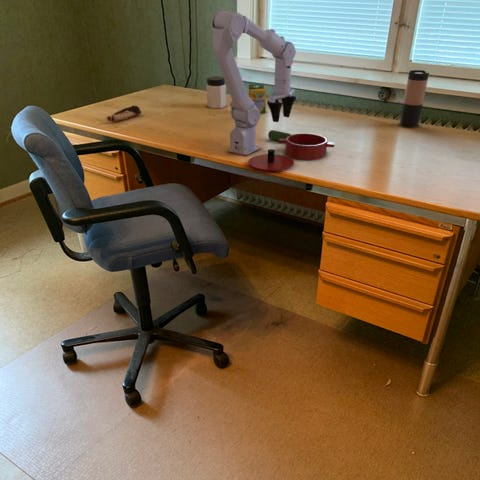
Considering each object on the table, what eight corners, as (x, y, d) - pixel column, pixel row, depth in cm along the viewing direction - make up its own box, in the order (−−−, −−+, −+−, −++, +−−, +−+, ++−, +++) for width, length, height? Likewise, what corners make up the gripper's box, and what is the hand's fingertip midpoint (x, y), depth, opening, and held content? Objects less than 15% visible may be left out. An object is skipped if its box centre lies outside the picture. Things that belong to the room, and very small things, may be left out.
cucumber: (294, 142, 186) (294, 133, 184) (289, 144, 184) (290, 135, 181) (271, 137, 191) (271, 128, 188) (266, 139, 188) (266, 130, 186)
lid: (288, 174, 159) (289, 159, 156) (243, 170, 162) (243, 155, 159) (297, 159, 171) (298, 145, 168) (254, 155, 174) (254, 141, 171)
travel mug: (397, 126, 202) (406, 72, 189) (401, 121, 207) (411, 69, 195) (416, 128, 199) (427, 74, 187) (420, 123, 204) (431, 71, 192)
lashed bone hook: (131, 113, 221) (99, 121, 210) (130, 102, 219) (97, 109, 207) (145, 116, 216) (113, 124, 205) (144, 104, 214) (111, 112, 202)
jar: (204, 105, 231) (203, 77, 224) (220, 103, 234) (219, 75, 227) (213, 109, 225) (211, 80, 217) (228, 107, 228) (228, 78, 220)
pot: (330, 162, 168) (332, 147, 165) (274, 157, 172) (274, 143, 169) (335, 149, 179) (337, 135, 176) (282, 144, 183) (282, 131, 180)
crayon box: (250, 114, 218) (250, 85, 211) (248, 112, 220) (248, 84, 213) (265, 112, 219) (266, 84, 212) (263, 111, 222) (264, 83, 215)
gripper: (281, 84, 167) (280, 125, 176) (302, 76, 177) (300, 116, 185) (264, 81, 171) (263, 122, 179) (285, 74, 180) (284, 113, 188)
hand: (281, 119), depth 182 cm, fingers open, 7 cm apart
